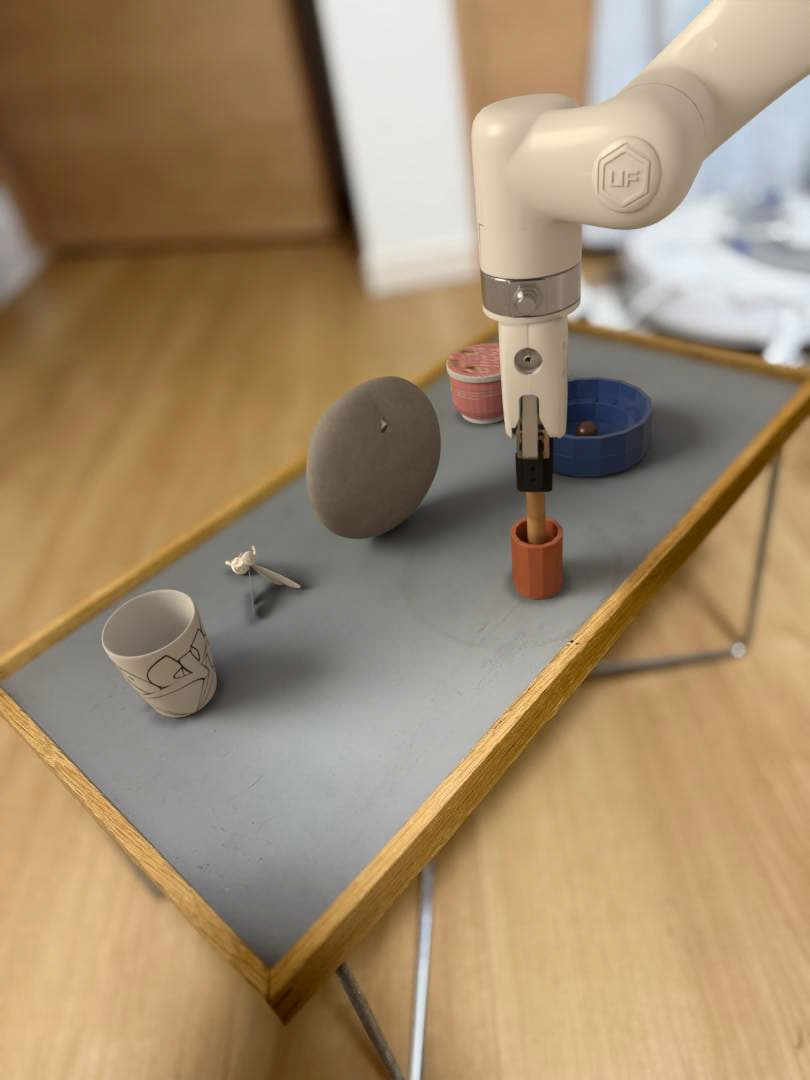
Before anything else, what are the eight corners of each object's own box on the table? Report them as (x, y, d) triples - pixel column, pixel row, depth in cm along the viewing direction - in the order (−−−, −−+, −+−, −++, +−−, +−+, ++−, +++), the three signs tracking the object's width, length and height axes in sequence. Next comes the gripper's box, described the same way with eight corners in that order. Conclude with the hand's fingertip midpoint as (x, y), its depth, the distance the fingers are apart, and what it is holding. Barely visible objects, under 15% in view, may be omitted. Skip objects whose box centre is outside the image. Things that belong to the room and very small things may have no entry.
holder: (562, 567, 75) (563, 515, 70) (561, 600, 71) (562, 548, 67) (515, 566, 76) (512, 515, 72) (512, 598, 72) (509, 547, 68)
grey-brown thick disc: (425, 480, 91) (406, 343, 79) (464, 500, 86) (450, 359, 74) (311, 553, 82) (269, 413, 71) (347, 579, 78) (310, 434, 66)
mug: (126, 668, 72) (85, 599, 66) (203, 629, 75) (170, 560, 69) (156, 744, 64) (112, 674, 58) (241, 698, 67) (208, 626, 61)
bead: (598, 436, 92) (599, 416, 90) (598, 448, 90) (599, 428, 88) (575, 436, 93) (575, 416, 91) (574, 449, 90) (575, 429, 89)
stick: (547, 573, 74) (544, 424, 62) (546, 585, 72) (544, 435, 61) (529, 573, 74) (524, 425, 63) (528, 584, 73) (523, 436, 61)
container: (477, 387, 108) (473, 338, 103) (537, 401, 102) (536, 349, 97) (437, 419, 102) (431, 369, 97) (498, 435, 96) (495, 383, 91)
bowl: (644, 415, 95) (647, 375, 92) (652, 480, 84) (656, 437, 80) (530, 417, 99) (529, 379, 95) (524, 480, 88) (522, 439, 84)
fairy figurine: (254, 546, 83) (268, 533, 77) (286, 596, 83) (301, 587, 77) (209, 572, 80) (219, 561, 74) (242, 623, 81) (254, 616, 74)
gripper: (580, 326, 47) (576, 537, 59) (581, 247, 59) (577, 436, 70) (469, 332, 49) (486, 535, 60) (491, 254, 60) (502, 437, 72)
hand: (535, 481), depth 65 cm, fingers closed on stick, 1 cm apart
